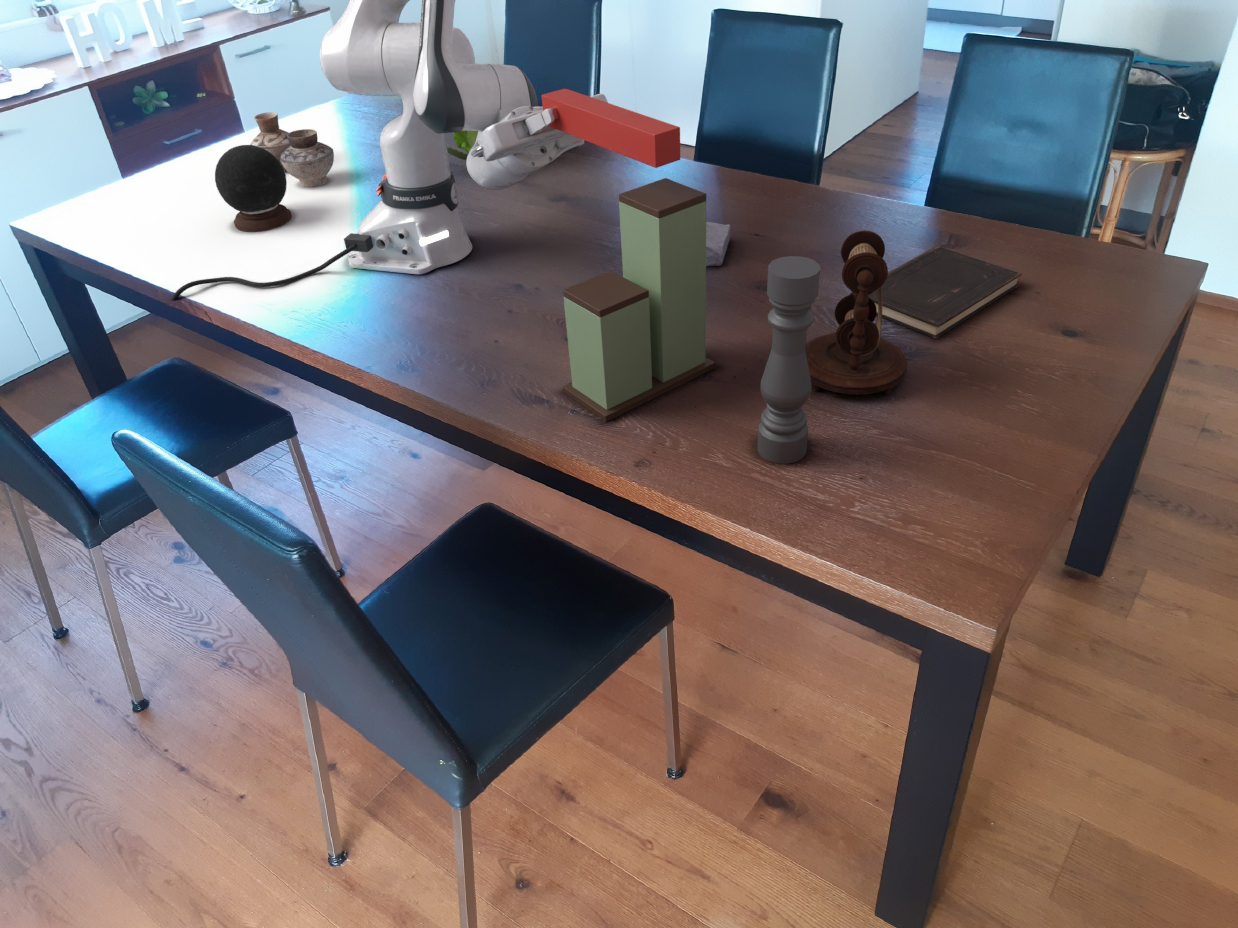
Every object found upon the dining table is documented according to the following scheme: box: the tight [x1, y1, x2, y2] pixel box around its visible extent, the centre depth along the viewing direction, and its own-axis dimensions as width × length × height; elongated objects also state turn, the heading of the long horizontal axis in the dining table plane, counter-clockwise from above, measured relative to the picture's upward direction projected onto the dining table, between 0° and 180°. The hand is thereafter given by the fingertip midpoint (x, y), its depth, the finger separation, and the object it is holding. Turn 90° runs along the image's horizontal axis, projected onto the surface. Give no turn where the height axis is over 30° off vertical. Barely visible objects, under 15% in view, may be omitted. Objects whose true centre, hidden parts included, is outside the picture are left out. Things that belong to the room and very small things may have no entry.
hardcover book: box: [849, 245, 1023, 340], centre depth 145 cm, size 16×23×2 cm
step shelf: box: [562, 177, 716, 423], centre depth 122 cm, size 10×20×26 cm, turn 128°
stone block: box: [706, 221, 731, 267], centre depth 162 cm, size 12×5×10 cm
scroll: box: [805, 230, 908, 396], centre depth 122 cm, size 15×15×20 cm
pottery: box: [250, 111, 335, 188], centre depth 202 cm, size 11×25×12 cm, turn 47°
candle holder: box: [756, 255, 821, 465], centre depth 108 cm, size 6×6×25 cm
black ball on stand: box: [214, 144, 293, 233], centre depth 181 cm, size 13×13×15 cm
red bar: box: [541, 88, 681, 169], centre depth 118 cm, size 24×4×4 cm, turn 38°
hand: (570, 109), depth 123 cm, fingers closed on red bar, 4 cm apart
